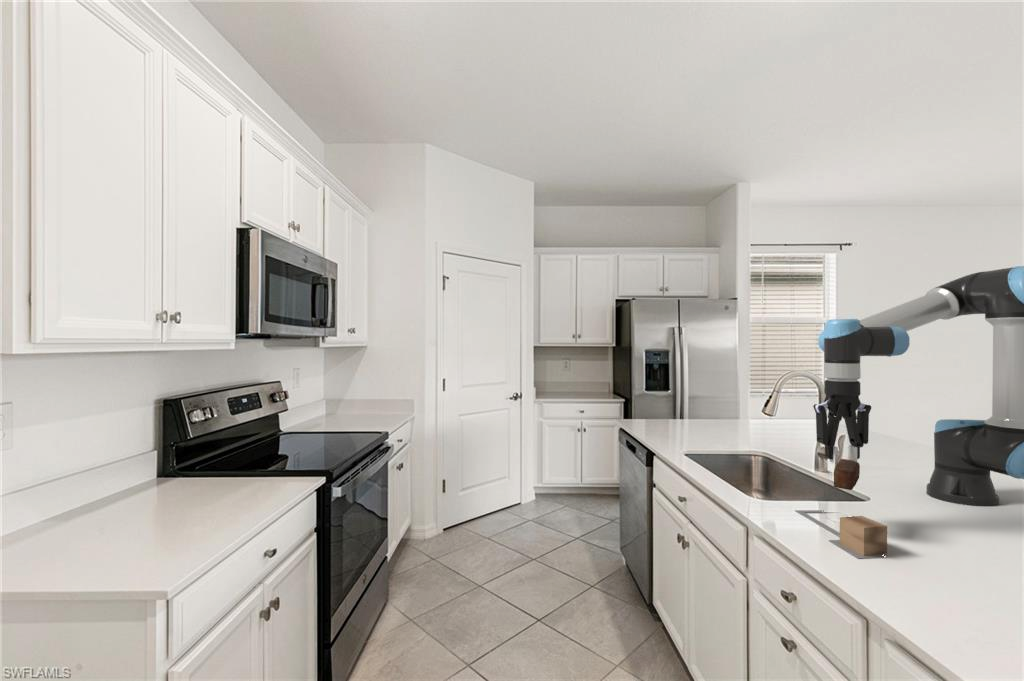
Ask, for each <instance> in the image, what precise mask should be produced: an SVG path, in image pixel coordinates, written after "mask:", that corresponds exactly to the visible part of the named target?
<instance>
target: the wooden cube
mask: <svg viewBox="0 0 1024 681" xmlns="http://www.w3.org/2000/svg"><path fill="white" fill-rule="evenodd" d="M839 519H840V522H839V524H840V525H839V533H840V537H839V540H840V541H839V544H841V545H843V546H845V547H847V548H849V549H851V550H853V551H855V552H857V553H859V554H861V555H863V556H866V555H877V554H885V553H886V554H888V525H885V524H883V523H882V522H879V521H876V520H874V519H871V518H869V517H866V516H863V515H856V516H855V515H853V516H852V517H848V516H841V517H839ZM886 554H885V555H886Z"/></svg>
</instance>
